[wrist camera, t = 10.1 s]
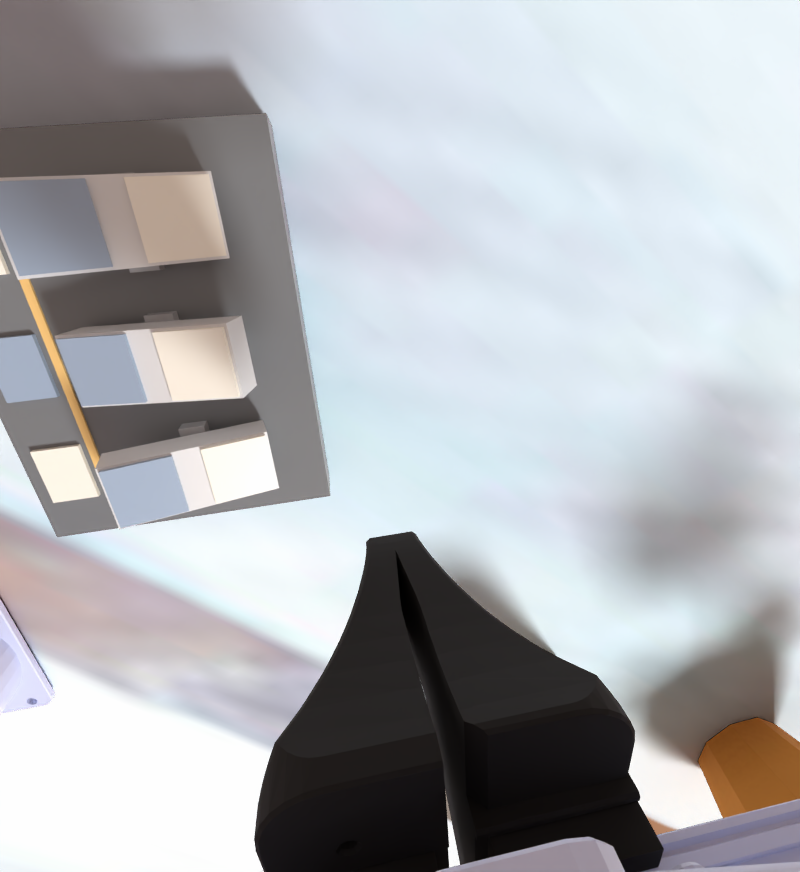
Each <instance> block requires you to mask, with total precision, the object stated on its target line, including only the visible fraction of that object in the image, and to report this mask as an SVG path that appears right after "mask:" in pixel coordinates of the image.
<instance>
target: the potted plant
mask: <svg viewBox="0 0 800 872" xmlns="http://www.w3.org/2000/svg"><path fill="white" fill-rule="evenodd" d="M698 762H699V765H700V767H701V769H702V771H703V774H704V776H705V778H706V780H707V783H708V785H709V787H710V790H711V792H712V794H713V796H714V799H715V801H716V803H717V806H718V808H719V810H720V812H721V815H722V817H723V818H726V817H730V816H734V815H738V814H742V813H746V812H750V811H753V810H757V809H761V808H765V807H769V806H773V805H777V804H781V803H785V802H789V801H793V800H797V799H800V742H799V741H797V740H796V739H795V738H793V737H792V736H790V735H789V734H788V733H786V732H785V731H784V730H782V729H781V728H780V727H778V726H777V725H775V724H774V723H771V722H769V721H766V720H763V719H760V718H758V717H757V718H753V719H749V720H746V721H742V722H738V723H735V724H731V725H729V726H728V727H726V728H725V729H724V730H722V731H721V732H720V733H718V734H717V735H716V736H714V737H713V738H712V739H710V740H709V741H708V742H706V744H705V746H704V749H703V751H702V753H701V755H700V757H699V760H698Z"/></svg>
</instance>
